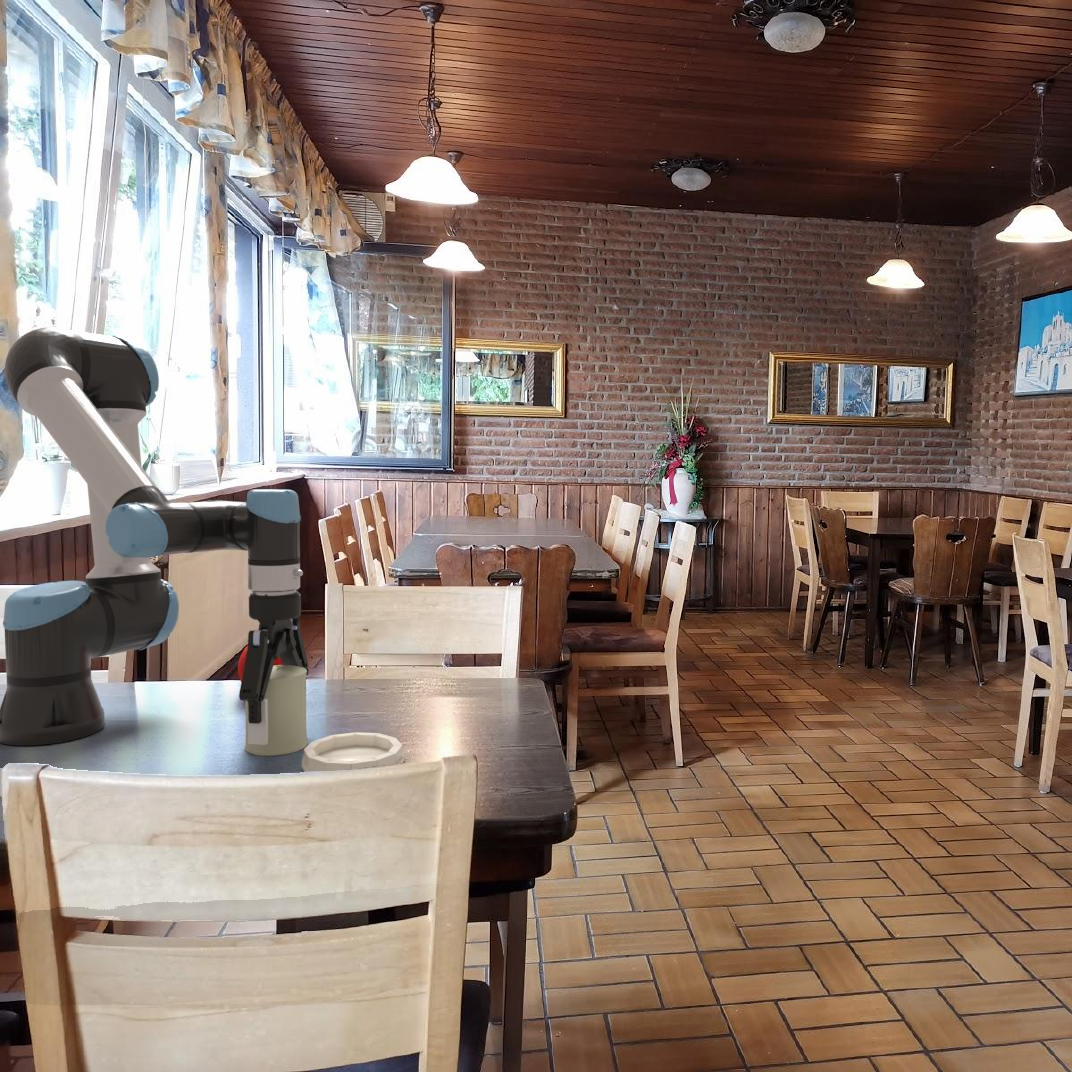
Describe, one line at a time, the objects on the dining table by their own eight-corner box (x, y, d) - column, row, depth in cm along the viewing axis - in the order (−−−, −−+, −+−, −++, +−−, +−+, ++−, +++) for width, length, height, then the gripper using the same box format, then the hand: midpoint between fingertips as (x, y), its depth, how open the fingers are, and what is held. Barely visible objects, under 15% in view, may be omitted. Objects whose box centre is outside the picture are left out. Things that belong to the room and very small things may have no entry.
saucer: (285, 779, 114) (285, 761, 114) (322, 745, 128) (322, 729, 128) (389, 784, 113) (389, 766, 113) (414, 749, 127) (414, 733, 127)
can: (313, 736, 133) (313, 662, 132) (299, 756, 123) (298, 676, 123) (255, 736, 132) (254, 661, 131) (236, 756, 123) (235, 676, 122)
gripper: (264, 604, 113) (266, 757, 115) (327, 581, 138) (328, 707, 140) (211, 603, 114) (214, 755, 116) (283, 580, 139) (285, 706, 140)
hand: (277, 729), depth 128 cm, fingers open, 13 cm apart
